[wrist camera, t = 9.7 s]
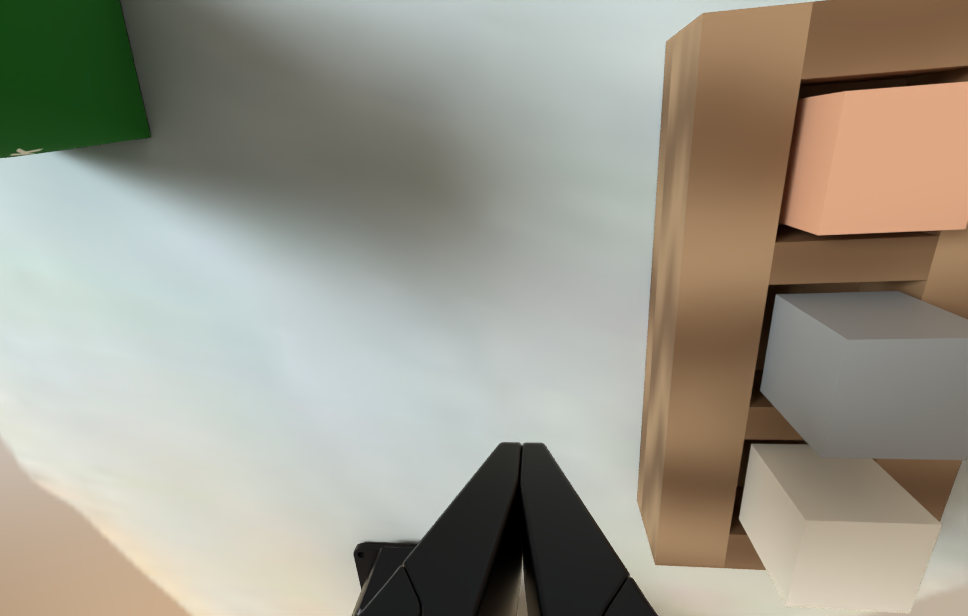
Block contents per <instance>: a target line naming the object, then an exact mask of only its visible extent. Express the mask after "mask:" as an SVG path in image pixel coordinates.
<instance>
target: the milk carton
mask: <svg viewBox="0 0 968 616" xmlns="http://www.w3.org/2000/svg"><path fill="white" fill-rule="evenodd" d="M150 137H151V135H150V131H149V126H148V122H147V118H146V113H145V109H144V105H143V100H142V96H141V92H140V87H139V83H138V79H137V74H136V70H135V66H134V61H133V57H132V53H131V48H130V44H129V40H128V35H127V31H126V27H125V22H124V18H123V14H122V9H121V5H120V1H119V0H0V158H7V157H16V156H23V155H31V154H38V153H45V152H52V151H59V150H66V149H73V148H80V147H87V146H94V145H101V144H108V143H115V142H122V141H129V140H136V139H144V138H150Z"/></svg>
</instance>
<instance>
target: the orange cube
mask: <svg viewBox="0 0 968 616" xmlns="http://www.w3.org/2000/svg"><path fill="white" fill-rule="evenodd" d="M778 222H779V223H782V224H785V225H788V226H791V227H794V228H797V229H800V230H803V231H806V232H809V233H812V234H815V235H840V234H863V233H887V232H911V231H935V230H958V229H966V225H967V222H968V82H955V83H943V84H930V85H917V86H905V87H892V88H879V89H867V90H854V91H844V92H838V93H832V94H825V95H819V96H813V97H807V98H801V99H798V101H797V107H796V114H795V120H794V126H793V133H792V139H791V145H790V152H789V158H788V164H787V171H786V177H785V183H784V190H783V196H782V202H781V209H780V215H779V221H778Z"/></svg>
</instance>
